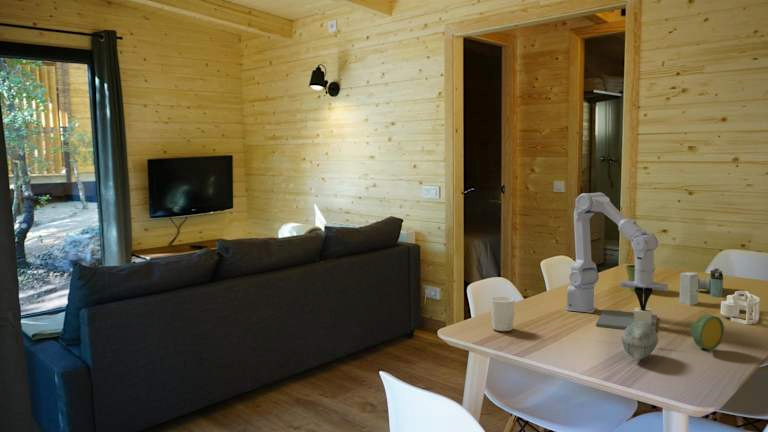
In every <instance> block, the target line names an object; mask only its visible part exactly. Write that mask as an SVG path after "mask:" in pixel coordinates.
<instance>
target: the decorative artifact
mask: <svg viewBox="0 0 768 432" xmlns="http://www.w3.org/2000/svg"><path fill="white" fill-rule="evenodd" d="M689 334H690V336H692V338H693V339H692V340H693V342H694V344H695V345H696V346H697V347H699V348H702V349H705V350H708V351H713V350H714V349H716V348H718V346H719V345H720V344H722V340H723V339H724V335H725V325H724V322H723V321H722V319H721V317H718V316H715V315H711V314H703V315H701V316H699V317H698V318H697V319H696V320H695V321H694V322H692V324H691V325H690V327H689Z"/></svg>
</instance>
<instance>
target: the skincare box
mask: <svg viewBox="0 0 768 432" xmlns="http://www.w3.org/2000/svg"><path fill="white" fill-rule="evenodd" d="M698 279H699V273H697V272H691V271H687V272H681V273H680V275H679V301H678V303H679V304H680V305H685V306H689V307H690V306H691V307H692V306H694V305H696V304H698V303H699V289H698Z"/></svg>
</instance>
